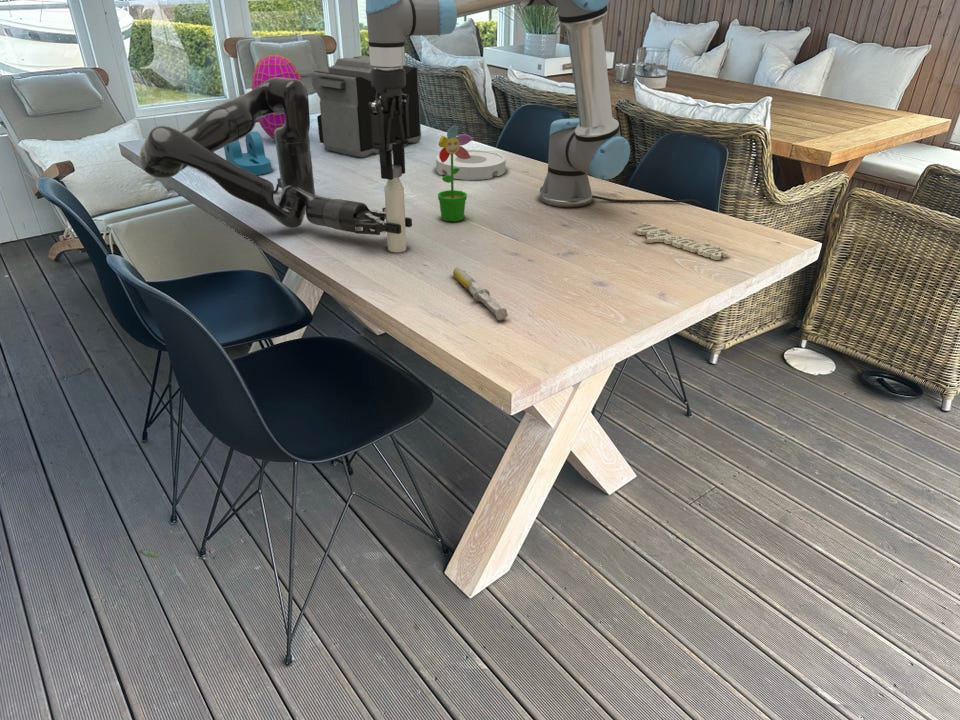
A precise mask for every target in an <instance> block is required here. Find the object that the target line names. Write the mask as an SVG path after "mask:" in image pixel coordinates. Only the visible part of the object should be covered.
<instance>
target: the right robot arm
mask: <svg viewBox="0 0 960 720" xmlns="http://www.w3.org/2000/svg"><path fill="white" fill-rule="evenodd" d="M610 2H611V0H365V14H366V25H367V38H368V54H369V57H370V65H371V66H372V67H373V68H372V69H371V70H370V75H371V86H372V87H374V88H375V89H376V100H375V101H374V102H369V104H368V106H369V110H370V114H371V130H372V146H373V149H375V150H379V153H378V155H379V165H380V178H381V179H382V180H387V181H388V180H392V179H393V168H392V164H397V165H401V168H402V175H405V174H406V157H405V146H404V144H407V145H409V144H410V143H409V141H408V140H407V139H409V137H410V135H409V112H408V103H409V95H408V94H402V90H401V88H403V87H405V85H406V75H405V70H404V68H403V66H406V54H405V37H411V36H413V37H417V36H421V37H422V36H438V37H440V36H443V35H450V34H452V33H454V31H455V30H456V26H457V22H458V19H459V18H464V17H467V16H472V15H475V14H480V13H483V12H490V11H493V10H497V9H501V8H506V7H509V6H514V5H517V6H519V7H520V8H525V7H529V6H549V7H554V8H556V9H557V16H558V21H559V24H561V25H562V26H563V27H565V29H566V34H567V41H568V49H569V57H570V64H571V72H572V79H573V86H574V94H575V101H576V110H577V116H578V117H577V118H576V117H575V118H574V117H573V118H562V119H556V120H554V121H553V122H551V124H550V127H549V128H550V129H549V134H548V136H549V141H548V142H549V143H548V156H547V157H548V159H547V173H546V176H545V178H544V181H543V184H542V186H541V187H540V189H539V200H540V202H542V203H543V204H546V205H549V206H553V207H558V208H559V207H560V208H580V207H584V206H588V205H589V204H591V203H592V199H596V200H602V201H606V202H613V203H670V204H671V203H672V204H680V203H681V204H682V203H694V204H697V205H698V206H699V207H702V208H704V205H703V203H701V202H700V201H699V200H697V199H690V198H689V199H678V200H677V199H616V198H609V197H603V196H598V195H593V193H592V188H591V184H590V179H589V176H591V177H593V178H595V179H601V180H611V179H613V178H615V177H617V176H619V174H621V173H622V171H624V170H625V167H626V166H627V164H628V163H629V160H630V157H631V146H630V142H629V141H628V140H627V138H625V137H624V136H621V130H620V123H619V121H618V120H617V119H616V118H615V117H613V111H612V110H613V109H612V101H611V91H610V83H609V74H608V73H609V72H608V64H607V63H608V62H607V54H606V44H605V35H604V27H603V26H604V25H603V20H604V18H605V16H607V13H608V11H609V10H608V4H609V3H610ZM386 114H388V115H386ZM391 126H392V132H393V137H394V142H395V143H396V144H392V149H391V150H389V143H390V129H391Z"/></svg>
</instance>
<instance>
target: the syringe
mask: <svg viewBox="0 0 960 720" xmlns="http://www.w3.org/2000/svg"><path fill="white" fill-rule="evenodd" d="M452 274H453V277H454V279H455V280H457V281H458V282H459V283H460V285H462V287H464V289H466V290H467V291H468V293H470V295H471V296H472V298H473V300H474V302H477V303H478V302H480V303H482V304H483V305H484V306H485V307H486V308H487V309H488V310H489V311H490V312H491V313H492V314H493V315H494V316H495V317H496V320H497V321H503V320H504V319H506V318H507V317H509V314H508V310H507V308H506V307H502V306H501V305H500V303H498V302H497V301H496V300H494V299H493V298H492V297H491V296H490V295H491V293H490V290H488V289H486V288H483V287H482V286H481V285H480V284H479V283H478V282H477V281H476V280H474V278H473V277H471V275H469V274H468V273H467V272H466V270H465V269H464V268H463V267H462V266H456V267H454V268H453V271H452Z"/></svg>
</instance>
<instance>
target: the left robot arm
mask: <svg viewBox="0 0 960 720" xmlns="http://www.w3.org/2000/svg"><path fill="white" fill-rule="evenodd" d="M301 81H302V80H301ZM301 81H299V80H297V79H289V78H280V77H275V78H271V79H269V80H267V81H265V82H264V83H262V84H261V85H259V86H258V87H256V88H255V89H253V90H252V89H251V90H250V91H248V92H246V93H244V94H243V93H242V94H241V95H239V96H236V97H233V98H232V99H229V100H227V101H224V102H222V103H219V104H217V105H215V106H213V107H212V108H210V109H208V110H206V111H205V112H204V113H202V114H201V115H200V116H198V117H197V118H196V119H195V120H193V122H192V123H191V124H189V125H188V126H187V127H185V129H183V130H182V131H180V130H178V129H176V128H174V127H170V126H166V125H159V126H155V127H153V128H152V129H151V130H150V131H149V132H148V135H146V136H147V137H146V138H145V140H144V142H143V144H142V146H141V148H140V151H139V163H140V166H141V168H142V169H143V171H145V173H146V174H148V175H149V176H152V177H154V178H159V179H168V178H171V177H172V178H173V177H175V176H177V175H178V174H180V172H182V171H184V170H185V169H186V168H188V167H192V168H194V169H197V170H198V171H201V172H203V173H204V174H206V175H207V176H208V177H210V178H211V179H212V180H213V181H214V182H215V183H217V184H218V186H220V187H221V188H222V189H223V190H224V191H225V192H227V193H228V194H229V195H231V196H233V197H235V198H236V199H238V200H240V201H243V202H245V203H247V204H250V205H252V206H255V207H257V208H259V209H261V210H262V211H263V212H265V213H267V214H268V215H269V216H271V217H272V218H273V219H274V220H275V221H277V222H278V223H280V225H282V226H284V227H287V228H289V229H290V228H291V229H295V228H299V227H301V225H302V224H303V221H304V219H305V216H306V219H307V221H308V222H309V223H310V224H313V225H315V226H321V227H325V228H326V227H327V228H331V229H334V230H337V231H343V232H347V233H348V232H349V233H353V234H358V235H370V236H371V235H373V236H380V235H381V234H387V232H390V233H395V234H400V233H401V225H400V224H395V223H389V222H387V223H386V206H385V207H382V210H381V211H380V210H378V209H372V210H370V209H369V206H367V204H366V203H364V202H360V201H353V200H347V199H341V198H330V197H329V198H328V197H323V196H319V195H316V189H315V188H316V187H315V179H314V178H315V177H314V172H313V171H314V170H313V162H312V153H311V152H312V151H311V144H310V136H309V134H310V133H309V132H310V128H311V118H310V101H309V95H308V90H307V88H306V85H305V84H304V83H303V81H302V82H301ZM273 113H282V114H285V124H284V126H281V127H278V128H276V129H275V131H274V134H275V139H274V141H275V149H276V155H277V162H278V170H279V178H277V179H276V180H277V183H276V187H275V186H274V184H273V182H271V181H270V180H268V179H266V178H264V177H261V176H260V175H254V174H252V173H250V172H248V171H245V170H243V169H241V168H239V167H237V166H235V165H233V164H232V163H230V162H228V161H226V158H223V157H222V156H220V155H219V154H217V153H216V152H217V151H219V150H221V149H224V147H225V146H227V145H229V144H231V143H234V142H236V141H238V140H239V141H240V140H241V139H243V138H245V137H246V136H247V135H248V134H249V133H250V132H253V130H254V128H255V126H256V123H257V122H258V119H260V118H262V117H264V116H266V115H269V114H273ZM279 188H280V189H281V193H280V197H279V200H278V203H276V202H275V199H274V198H275V197H274V194H276V193H278V191H279ZM405 226H406V228H411V227H412V226H413V219H412V218H411V217H407V216H405Z"/></svg>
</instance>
